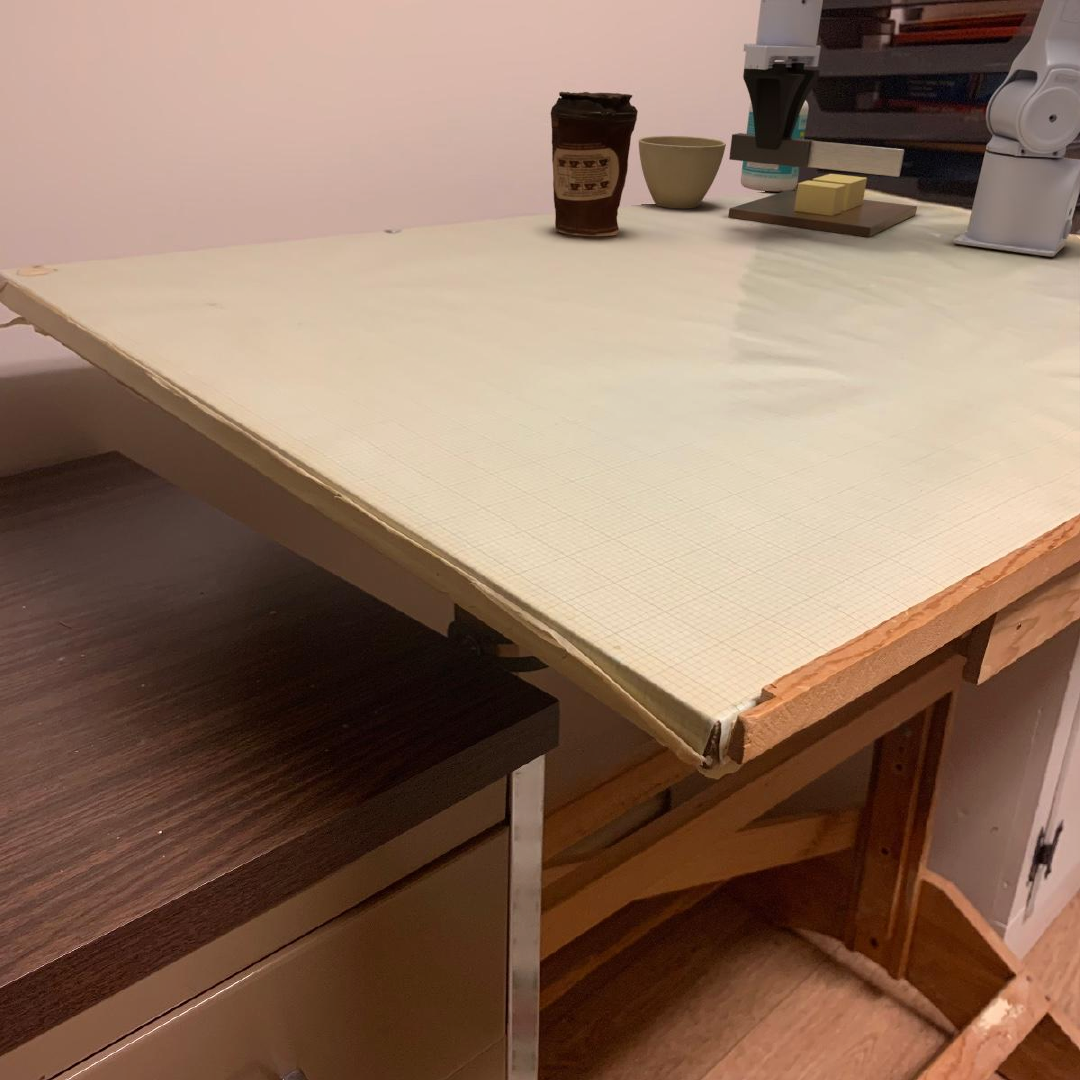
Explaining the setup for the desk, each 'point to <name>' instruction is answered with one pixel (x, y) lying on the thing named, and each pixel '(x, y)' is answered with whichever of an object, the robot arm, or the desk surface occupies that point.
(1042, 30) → the robot arm
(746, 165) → the pill bottle
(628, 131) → the coffee cup
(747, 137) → the knife
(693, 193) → the tan bowl
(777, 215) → the butter board
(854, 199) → the butter block
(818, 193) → the butter slice
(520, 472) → the desk surface
